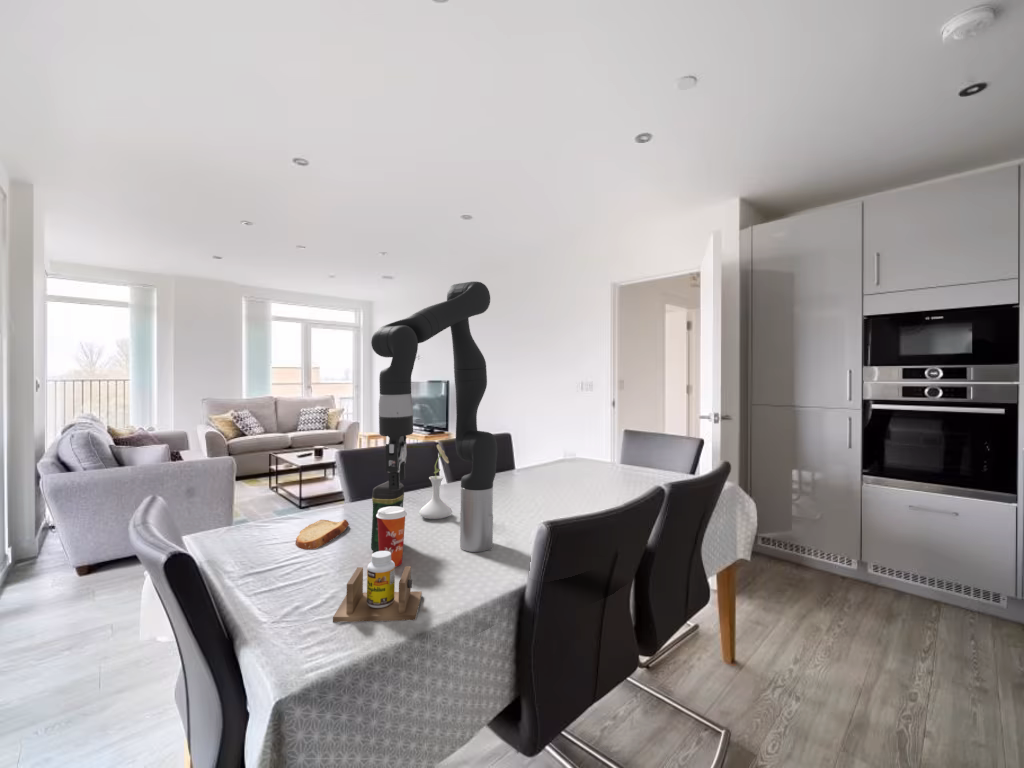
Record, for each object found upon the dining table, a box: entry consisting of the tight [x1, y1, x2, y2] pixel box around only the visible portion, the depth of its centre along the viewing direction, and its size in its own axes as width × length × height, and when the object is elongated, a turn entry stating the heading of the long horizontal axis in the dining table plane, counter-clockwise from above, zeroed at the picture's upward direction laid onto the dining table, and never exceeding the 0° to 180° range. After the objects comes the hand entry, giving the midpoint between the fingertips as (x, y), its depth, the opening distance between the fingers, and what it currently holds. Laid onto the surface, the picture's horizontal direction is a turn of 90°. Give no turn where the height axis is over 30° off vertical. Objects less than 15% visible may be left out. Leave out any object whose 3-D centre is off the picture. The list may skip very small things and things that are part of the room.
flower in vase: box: [418, 443, 453, 520], centre depth 157 cm, size 13×11×25 cm
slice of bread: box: [295, 519, 350, 550], centre depth 136 cm, size 18×18×4 cm
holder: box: [332, 565, 423, 623], centre depth 94 cm, size 16×10×7 cm, turn 94°
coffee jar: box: [370, 480, 405, 553], centre depth 127 cm, size 10×8×19 cm
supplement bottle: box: [366, 551, 396, 608], centre depth 94 cm, size 6×6×10 cm
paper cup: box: [376, 506, 408, 568], centre depth 116 cm, size 8×8×14 cm
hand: (397, 484), depth 103 cm, fingers open, 8 cm apart
